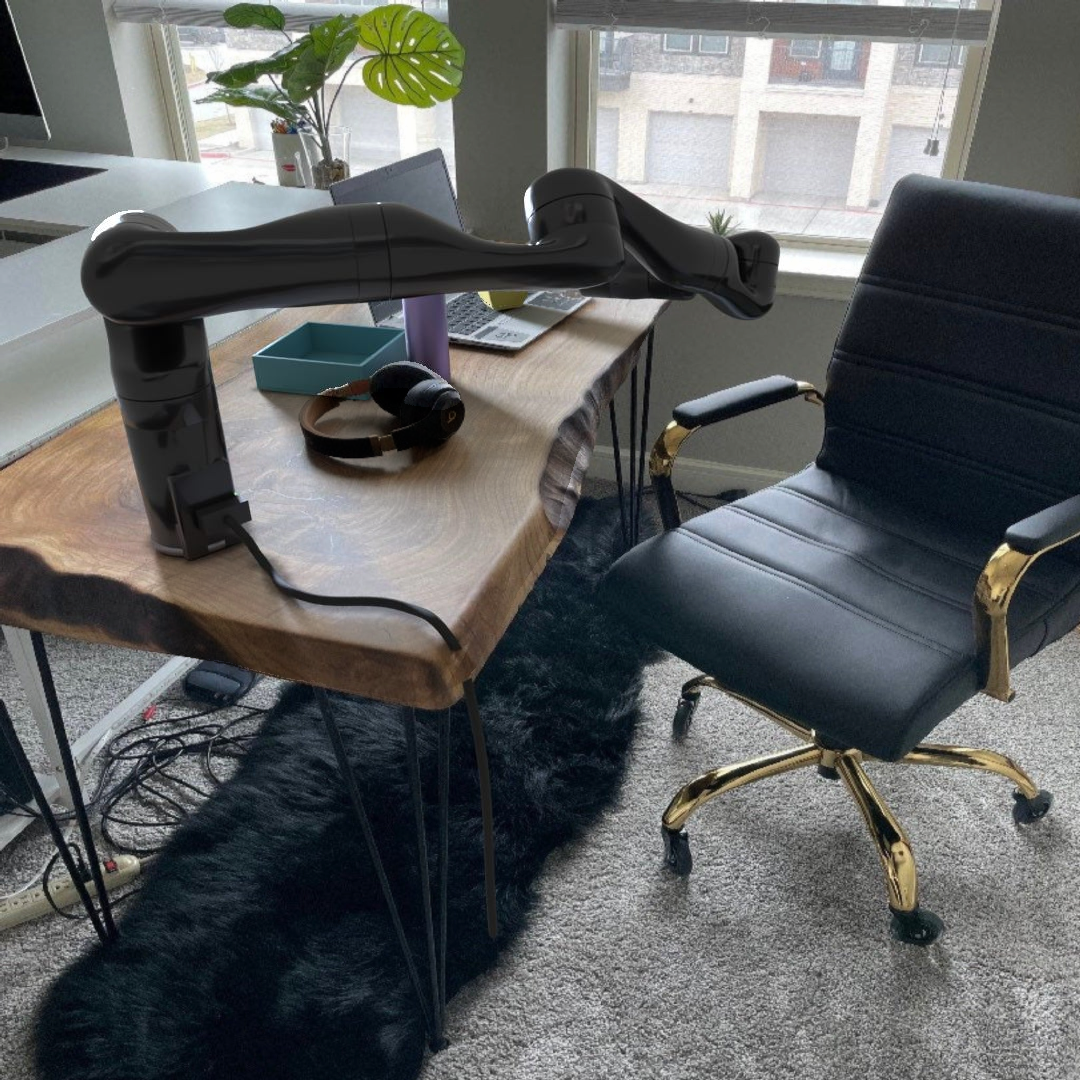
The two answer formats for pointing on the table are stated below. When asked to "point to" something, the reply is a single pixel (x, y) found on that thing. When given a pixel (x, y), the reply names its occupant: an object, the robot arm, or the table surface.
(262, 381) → the box
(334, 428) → the table surface
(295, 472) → the table surface
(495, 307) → the flower pot
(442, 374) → the beverage can
